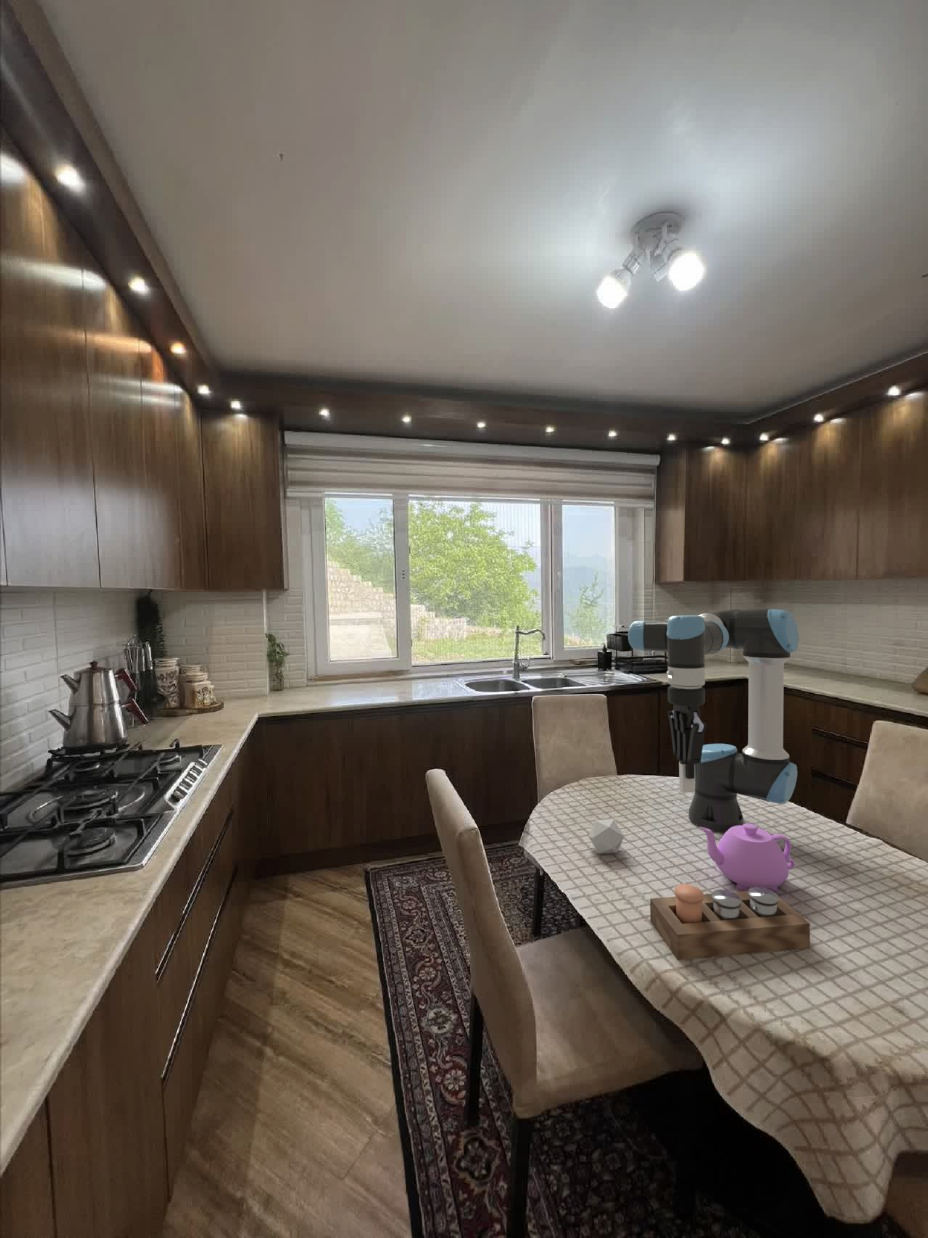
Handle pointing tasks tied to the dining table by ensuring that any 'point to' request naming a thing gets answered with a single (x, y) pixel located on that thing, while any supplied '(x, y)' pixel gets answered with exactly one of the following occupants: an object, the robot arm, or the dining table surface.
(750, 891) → the grey plug near
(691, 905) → the peach plug
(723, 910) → the grey plug mid
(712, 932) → the wooden compartment tray
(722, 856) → the teapot
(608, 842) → the die
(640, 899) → the dining table surface
